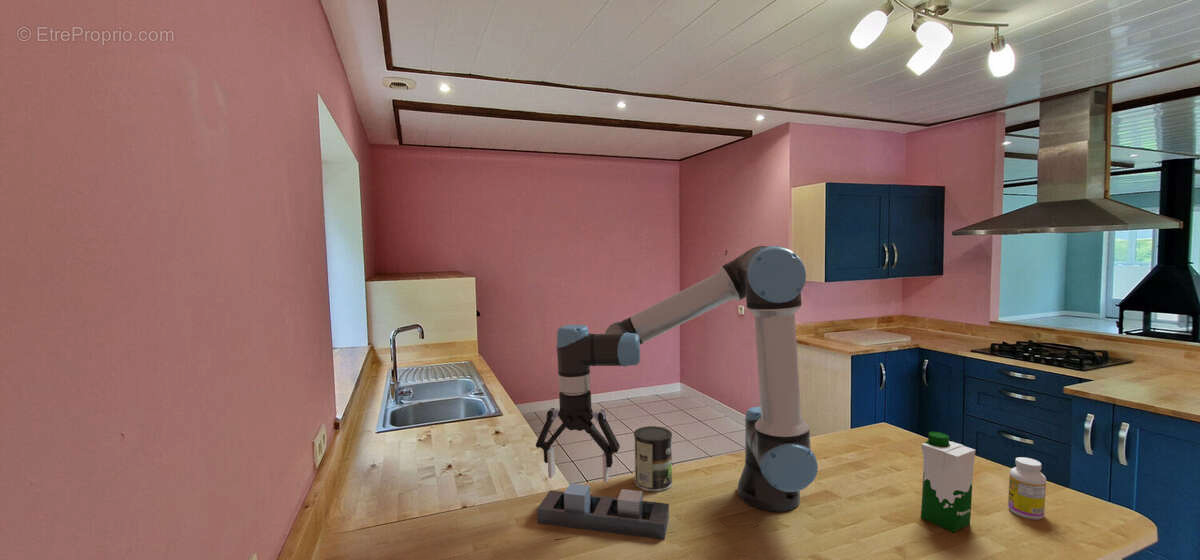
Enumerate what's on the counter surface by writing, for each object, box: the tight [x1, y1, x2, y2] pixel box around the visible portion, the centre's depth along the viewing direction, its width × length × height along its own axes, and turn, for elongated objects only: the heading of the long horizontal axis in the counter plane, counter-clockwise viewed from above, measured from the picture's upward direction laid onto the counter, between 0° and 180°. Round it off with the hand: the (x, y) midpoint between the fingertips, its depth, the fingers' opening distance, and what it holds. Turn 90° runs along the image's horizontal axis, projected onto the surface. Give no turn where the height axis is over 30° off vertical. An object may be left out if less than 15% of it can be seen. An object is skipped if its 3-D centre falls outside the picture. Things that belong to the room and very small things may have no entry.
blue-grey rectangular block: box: [563, 483, 591, 513], centre depth 119 cm, size 5×5×7 cm
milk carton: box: [920, 431, 976, 533], centre depth 115 cm, size 9×9×20 cm
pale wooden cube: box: [617, 488, 644, 520], centre depth 116 cm, size 5×5×7 cm
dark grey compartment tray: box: [536, 490, 670, 541], centre depth 117 cm, size 30×9×4 cm, turn 76°
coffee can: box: [633, 425, 673, 493], centre depth 135 cm, size 10×10×14 cm
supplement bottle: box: [1007, 456, 1047, 520], centre depth 118 cm, size 7×7×13 cm
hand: (578, 477), depth 118 cm, fingers open, 13 cm apart
